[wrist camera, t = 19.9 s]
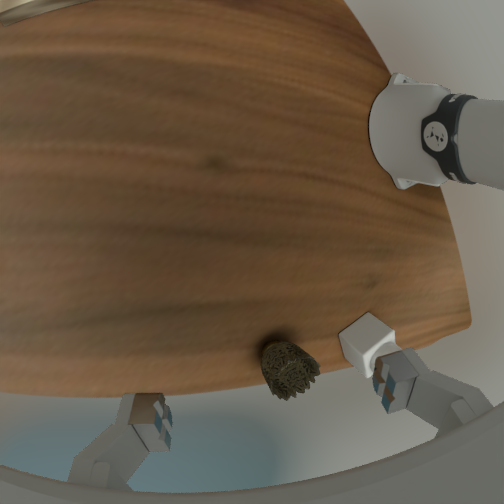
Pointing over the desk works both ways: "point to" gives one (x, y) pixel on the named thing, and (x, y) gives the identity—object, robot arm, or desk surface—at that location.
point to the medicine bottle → (367, 342)
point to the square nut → (30, 8)
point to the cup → (287, 368)
